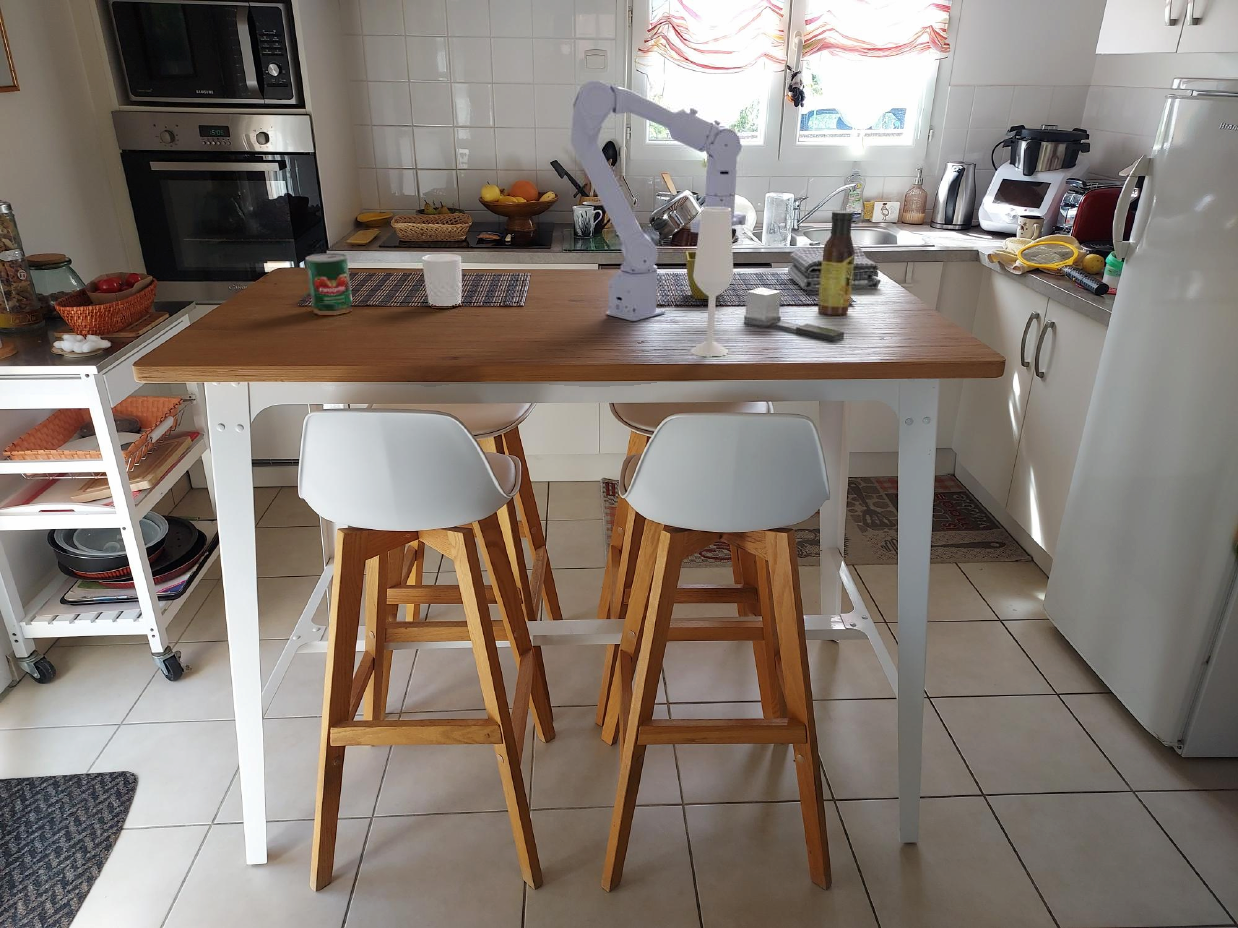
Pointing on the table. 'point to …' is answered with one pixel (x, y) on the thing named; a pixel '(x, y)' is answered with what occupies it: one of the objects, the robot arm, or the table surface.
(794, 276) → the towel
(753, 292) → the white sugar cube
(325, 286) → the canned tomato
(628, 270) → the robot arm
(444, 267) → the white cup
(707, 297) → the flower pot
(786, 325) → the ratchet
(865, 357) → the table surface
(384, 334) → the table surface
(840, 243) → the sauce bottle
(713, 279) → the champagne flute
